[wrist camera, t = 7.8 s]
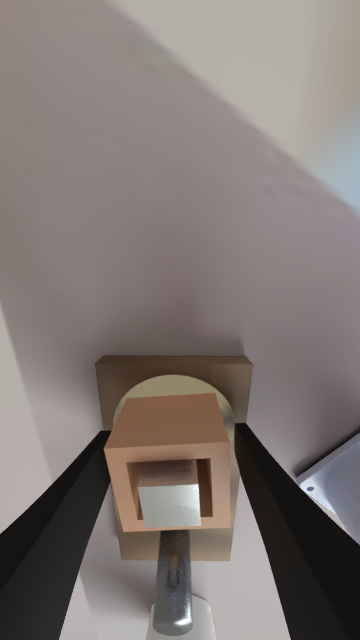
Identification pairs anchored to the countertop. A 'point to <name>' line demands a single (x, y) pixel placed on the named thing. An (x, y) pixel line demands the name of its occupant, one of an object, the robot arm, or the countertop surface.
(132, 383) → the jig board
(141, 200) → the countertop surface
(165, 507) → the hub
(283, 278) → the countertop surface
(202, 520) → the collar
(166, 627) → the stand rod
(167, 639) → the foam cup
